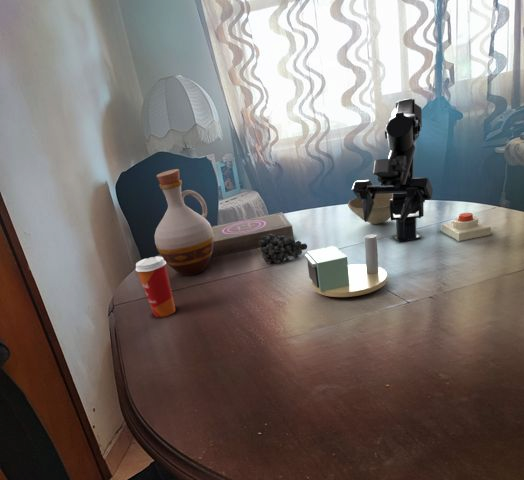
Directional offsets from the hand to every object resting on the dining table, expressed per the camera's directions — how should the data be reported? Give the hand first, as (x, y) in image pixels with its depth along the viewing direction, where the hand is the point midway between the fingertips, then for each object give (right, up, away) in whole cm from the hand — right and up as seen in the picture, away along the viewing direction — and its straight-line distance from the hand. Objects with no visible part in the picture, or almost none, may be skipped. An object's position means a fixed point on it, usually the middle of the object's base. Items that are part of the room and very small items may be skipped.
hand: (382, 221), depth 112 cm
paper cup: (-55, -22, +7) cm, 59 cm away
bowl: (+10, +12, +46) cm, 48 cm away
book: (-35, +8, +54) cm, 64 cm away
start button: (+29, +6, +19) cm, 35 cm away
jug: (-51, -6, +34) cm, 62 cm away
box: (+29, +2, +21) cm, 36 cm away
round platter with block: (-8, -15, +1) cm, 17 cm away
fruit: (-23, -4, +28) cm, 36 cm away
